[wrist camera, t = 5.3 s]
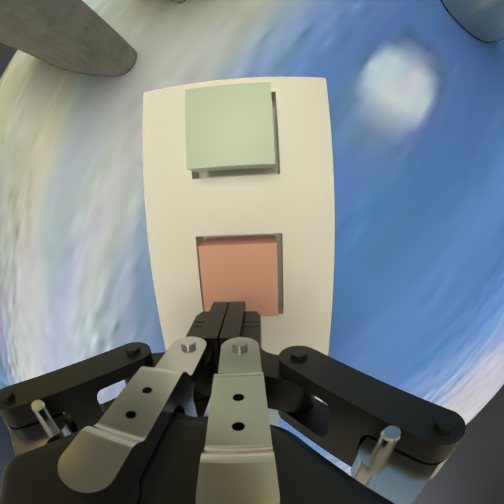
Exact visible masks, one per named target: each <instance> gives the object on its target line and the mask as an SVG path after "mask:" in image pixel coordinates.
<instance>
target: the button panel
mask: <svg viewBox="0 0 504 504" xmlns="http://www.w3.org/2000/svg"><path fill="white" fill-rule="evenodd" d="M261 82H271V97H272V113H273V129H274V148H275V165H274V168H262V169H241V170H224V171H211V172H195V171H191V170H187V165H186V130H185V90H187V89H193V88H201V87H209V86H218V85H228V84H241V83H261ZM143 178H144V197H145V211H146V223H147V234H148V243H149V252H150V260H151V268H152V275H153V282H154V289H155V295H156V301H157V307H158V313H159V319H160V324H161V329H162V334H163V339H164V344H165V349H166V351H167V350H168V348H169V347H170V345H171V344H172V343H173V342H174V341H175V340H177V339H180V338H183V337H186V335H187V333H188V331H189V329H190V327H191V325H192V323H193V321H194V319H195V317H196V316H197V315H199V314H200V313H201V312H203V311H205V309H204V300H203V291H202V281H201V271H200V260H199V248H198V246H199V245H200V244H201V243H202V242H204V241H205V240H206V239H207V238H220V237H245V236H273V235H275V238H276V242H277V267H278V316H261V343H262V344H261V348H262V349H263V350H264V351H266V352H268V353H271V354H275V355H279V354H280V352H281V351H282V350H283V349H285V348H288V347H291V346H307V347H310V348H313V349H315V350H317V351H319V352H321V353H323V354H325V355H327V356H328V351H329V340H330V328H331V315H332V300H333V280H334V244H335V208H334V172H333V153H332V137H331V124H330V113H329V103H328V94H327V85H326V78H317V77H251V78H236V79H224V80H214V81H206V82H198V83H191V84H184V85H178V86H173V87H167V88H162V89H157V90H152V91H148V92H144V93H143ZM315 398H316V399H317V400H319V401H321V402H322V400H321V399H319V398H317V397H316V396H315ZM279 417H280V416H279Z"/></svg>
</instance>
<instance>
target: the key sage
mask: <svg viewBox="0 0 504 504" xmlns="http://www.w3.org/2000/svg"><path fill="white" fill-rule="evenodd" d="M185 130H186V165H187V170H191V171H195V172H211V171H224V170H241V169H262V168H274V165H275V148H274V129H273V113H272V97H271V82H261V83H241V84H228V85H218V86H209V87H201V88H193V89H187V90H185Z"/></svg>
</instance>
